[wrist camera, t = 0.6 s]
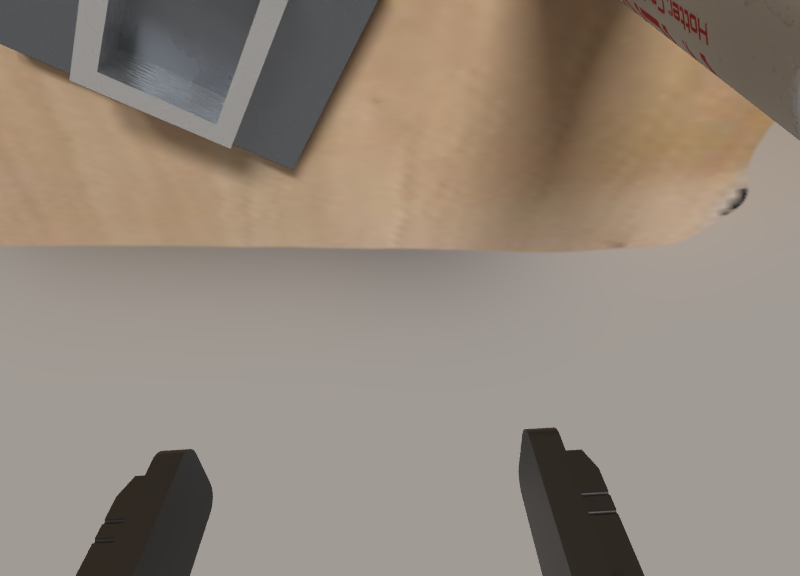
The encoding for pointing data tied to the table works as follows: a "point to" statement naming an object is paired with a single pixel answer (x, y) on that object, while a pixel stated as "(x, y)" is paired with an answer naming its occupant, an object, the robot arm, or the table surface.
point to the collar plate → (201, 60)
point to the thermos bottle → (739, 46)
